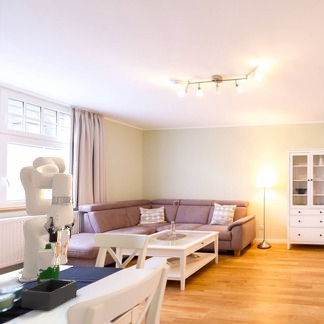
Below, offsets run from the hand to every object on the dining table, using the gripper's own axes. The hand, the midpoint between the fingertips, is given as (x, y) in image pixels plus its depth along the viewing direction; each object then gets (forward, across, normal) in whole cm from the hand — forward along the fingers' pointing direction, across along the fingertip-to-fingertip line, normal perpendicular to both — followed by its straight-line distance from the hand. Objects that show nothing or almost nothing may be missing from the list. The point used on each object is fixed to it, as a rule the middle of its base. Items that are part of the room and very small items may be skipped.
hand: (60, 240), depth 123 cm
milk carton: (+26, -11, -16) cm, 32 cm away
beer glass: (+10, 0, 0) cm, 10 cm away
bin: (+25, +3, 0) cm, 26 cm away
